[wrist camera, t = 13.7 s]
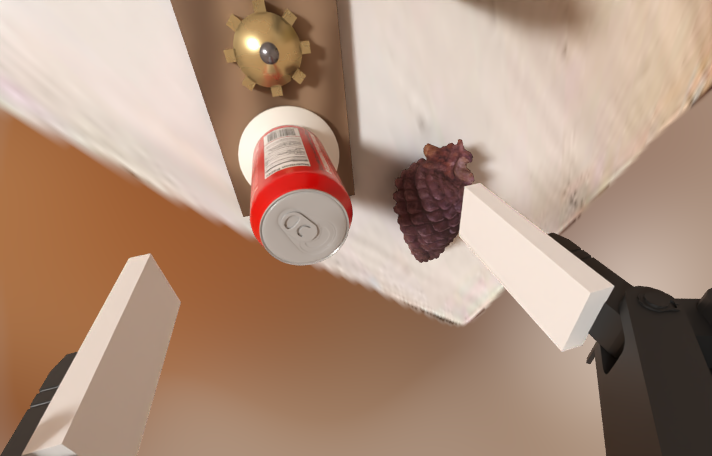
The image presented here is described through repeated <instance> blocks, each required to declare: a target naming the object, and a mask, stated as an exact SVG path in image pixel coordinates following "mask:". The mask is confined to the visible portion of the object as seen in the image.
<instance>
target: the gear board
mask: <svg viewBox="0 0 712 456" xmlns="http://www.w3.org/2000/svg"><path fill="white" fill-rule="evenodd" d="M170 1H171V4H172V7H173V10H174V13H175V16H176V19H177V21H178V24H179V27H180V30H181V33H182V36H183V39H184V42H185V45H186V48H187V51H188V54H189V57H190V60H191V63H192V66H193V69H194V72H195V75H196V78H197V81H198V84H199V87H200V90H201V93H202V96H203V99H204V101H205V104H206V107H207V110H208V113H209V116H210V119H211V122H212V125H213V128H214V131H215V134H216V137H217V140H218V143H219V146H220V149H221V152H222V155H223V158H224V161H225V164H226V167H227V170H228V173H229V176H230V178H231V181H232V184H233V187H234V190H235V193H236V196H237V199H238V202H239V205H240V208H241V211H242V214H243V217H245V216H250V199H251V185H250V184H249V183H248V181H247V180H246V179H245V177H244V175H243V173H242V170H241V168H240V164H239V157H238V150H239V143H240V139H241V136H242V133H243V131H244V129H245V127H246V126H247V125H248V123H249V122H250V121H251V120H252V119H253V118H254V117H255V116H257V115H258V114H259V113H261V112H263V111H265V110H266V109H269V108H272V107H276V106H282V105H293V106H299V107H302V108H305V109H308V110H310V111H312V112H314V113H315V114H317V115H318V116H320V117H321V118H322V119H323V120H324V121H325V122H326V123H327V124H328V126H329V127H330V129H331V130H332V132H333V133H334V135H335V137H336V140H337V143H338V148H339V164H338V168H337V173H338V175H339V177H340V179H341V181H342V183H343V185H344V187H345V189H346V191H347V193H348V195H349V196H352V195H355V193H354V182H353V172H352V161H351V151H350V140H349V130H348V119H347V108H346V98H345V87H344V77H343V66H342V56H341V45H340V34H339V24H338V13H337V3H336V0H264V3H265V8H266V12H271V13H274V14H276V15H279V16H280V17H282V15H283V14H284V12H285V10H286V9H288V10H290V11H291V12H292V13H293V14H294V15H295V16H296V17H297V19H296V20H295V22H294V23H293V25H292V27H293V29H294V30H295V32H296V33H297V35H298V38H299V40H300V41H302V40H309V43H310V50H311V53H308V54H302V61H301V65H300V68H299V70H301V71H302V72H303V73H304V74H305V75H306V77H305V78H304V80H303V81H302V83H301V84H299V83H298V82H296V81H295V80H294V79H292V80H291V81H290V82H288V83H287V84H285V85H283V86H281V88H282V93H283V96H275V97H273V96H272V91H271V87H264V86H261V85H258V84H256V85H255V86H254V88H253V89H252V91H251V90H249V89H248V88H247V87H245V86H244V85H242V81H243V80H244V78H245V76H246V75H245V74H244V73H243V72H242V70H241V69H240V67H239V66H238V63H237V62H231V63H227V61H226V57H225V54H224V49H230V48H233V39H234V34H235V32H234V31H233V30H232V29H231V28H229V27H228V26H227V25H226V23H227V22H228V20H229V18H230V16H231V15H232V14H234V15H235V16H236V17H237V18H238V19H240V20H241V21H242V20H243V19H244V18H245V17H247V16H248V15H250V14H253V13H254V9H253V4H252V1H253V0H170Z"/></svg>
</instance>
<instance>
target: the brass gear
mask: <svg viewBox="0 0 712 456" xmlns="http://www.w3.org/2000/svg"><path fill="white" fill-rule="evenodd" d="M252 4H253V9H254V13H253V14H250V15H248V16H247V17H245V18H244V19H243V20H242V21H241V20H240V19H238V18H237V17H236V16H235V15H234V14H232V15H231V16H230V18H229V20H228V22H227V23H226V25H227V26H228V27H229V28H231V29H232V30H233V31H234V32H235V34H234V39H233V48H230V49H224V54H225V57H226V61H227V63H231V62H237V63H238V66H239V67H240V69H241V70H242V72H243V73H244V74H245V75H246V76H245V78H244V80H243V81H242V85H244V86H245V87H247V88H248V89H249V90H251V91H252V89H253V88H254V86H255V85H256V84H258V85H261V86H264V87H271V91H272V96H273V97H275V96H283V93H282V88H281V86H283V85H285V84H287V83H288V82H290V81H291V80H292V79H294V80H295V81H296V82H298V83H299V84H301V83H302V81H303V80H304V78H305V77H306V75H305V74H304V73H303V72H302V71H301V70H299V68H300V65H301V61H302V54H308V53H311V50H310V43H309V40H302V41H300V40H299V38H298V35H297V33H296V32H295V30H294V29H293V27H292V25H293V23H294V22H295V20H296V19H297V17H296V16H295V15H294V14H293V13H292V12H291V11H290V10H288V9H286V10H285V12H284V14H283V15H282V17H280V16H279V15H276V14H274V13H271V12H266V8H265V3H264V0H253V1H252Z"/></svg>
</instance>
